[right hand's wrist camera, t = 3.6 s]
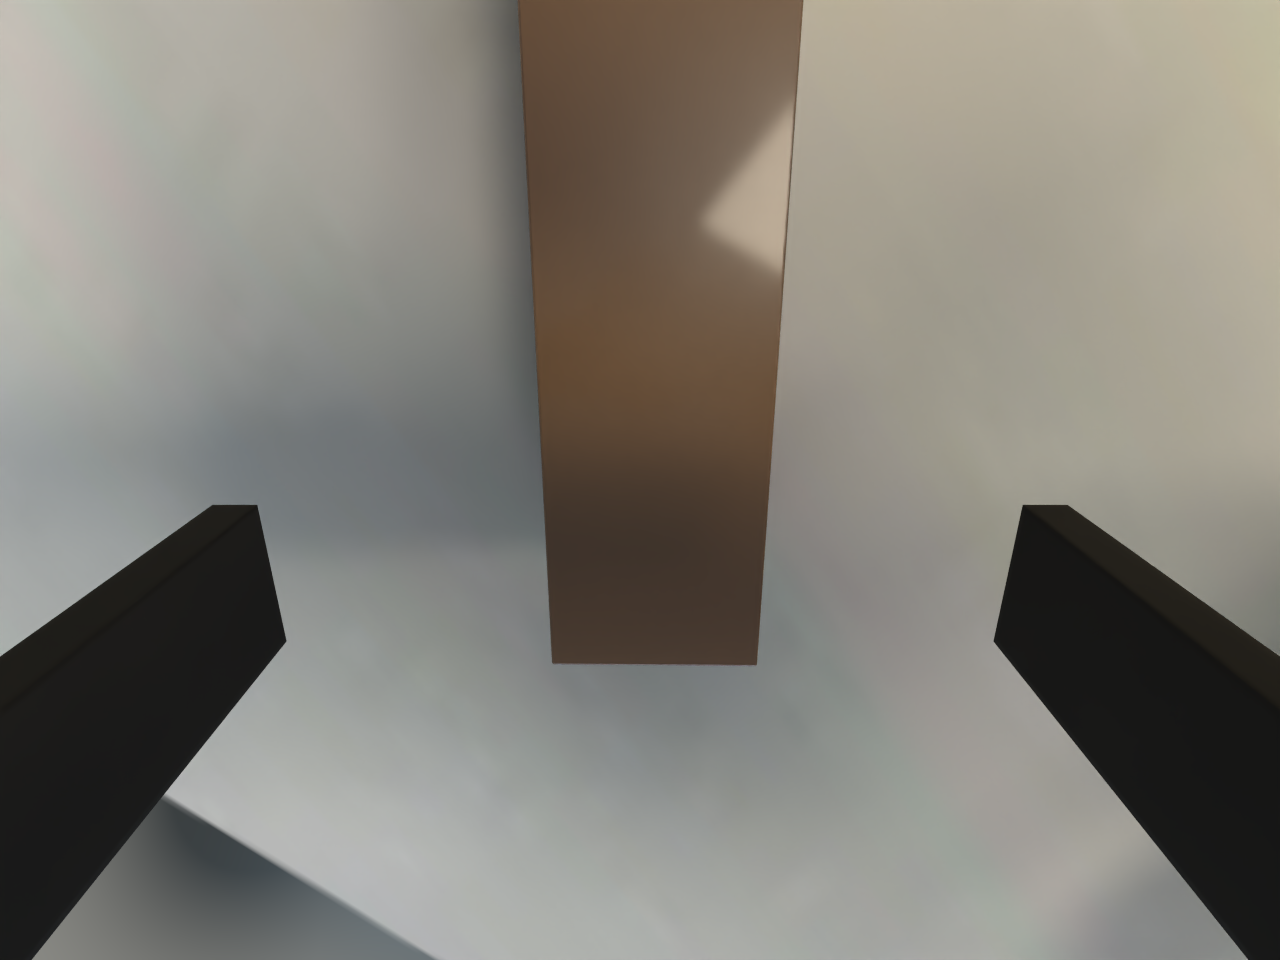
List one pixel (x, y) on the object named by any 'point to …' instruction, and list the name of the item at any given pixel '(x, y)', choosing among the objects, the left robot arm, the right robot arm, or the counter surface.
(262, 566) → the right robot arm
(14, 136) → the counter surface
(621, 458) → the bar
